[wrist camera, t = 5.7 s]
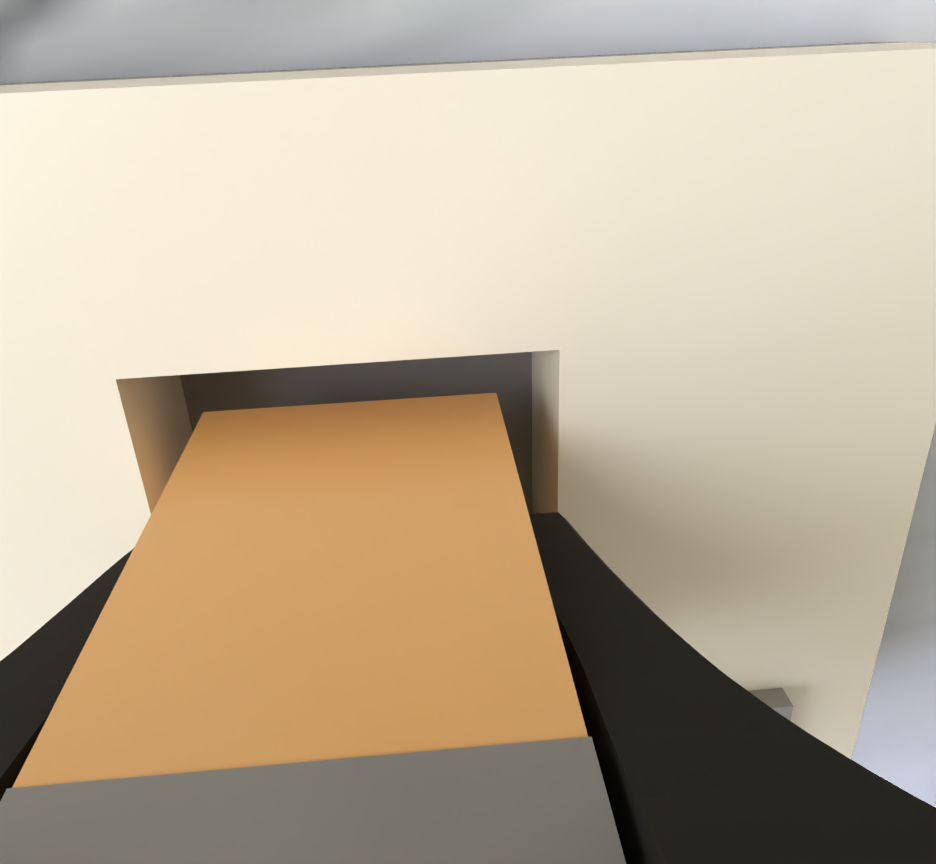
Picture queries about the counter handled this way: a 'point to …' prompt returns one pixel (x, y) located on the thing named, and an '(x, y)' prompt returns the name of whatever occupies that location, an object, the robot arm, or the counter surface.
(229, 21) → the counter surface
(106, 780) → the plug
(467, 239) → the socket
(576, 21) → the counter surface
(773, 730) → the robot arm
